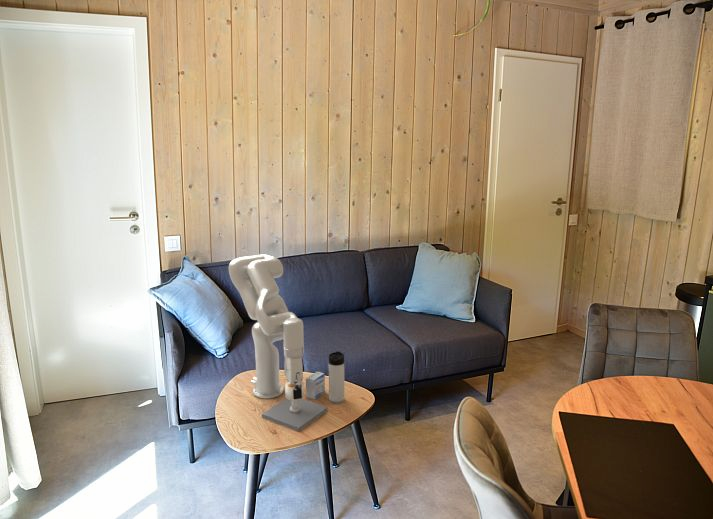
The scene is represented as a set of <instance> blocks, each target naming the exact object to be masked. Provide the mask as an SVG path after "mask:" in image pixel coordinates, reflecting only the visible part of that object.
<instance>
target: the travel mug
mask: <svg viewBox="0 0 713 519" xmlns="http://www.w3.org/2000/svg"><path fill="white" fill-rule="evenodd" d="M328 401H329V403H331V404H332V405H333V404H335V405H340V404H342V403H344V401H345V354H344V353H343V352H341V351H337V350H336V351H335V352H332V353H329V355H328Z"/></svg>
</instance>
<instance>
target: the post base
mask: <svg viewBox="0 0 713 519" xmlns="http://www.w3.org/2000/svg"><path fill="white" fill-rule="evenodd" d="M328 410H329V409H328V406H326V405H325V406H324V405H322V404H319V403H316V402H314V401H311V400H308V399H305V398H302V399H300V400H296V401H292V400H288V399H286V398H285V399H283V400H282V401H280V402H278V403H277V404H275V405H274V406H272V407H271V408H269V409H267V410H266V411H264V412H262V413H261V418H262V419H265V420H268V421H270V422H273V423H275V424H277V425H281V426H283V427H285V428H287V429H288V428H289V429H290V430H293V431H296V432H300V431H302V430H303V429H304V428H306V427H307V426H309V425H310V424H311V423H313V422H315V420H317V419H318V418H320V417H321V416H323V415H324V414H326V413H327V412H328Z"/></svg>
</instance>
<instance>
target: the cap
mask: <svg viewBox="0 0 713 519" xmlns="http://www.w3.org/2000/svg"><path fill="white" fill-rule="evenodd" d="M295 381H297V380H295ZM295 384H296V385H298V383H295ZM304 386H305V383H304V382H303V381H302V398H301V399H304V397H305V391H304V390H305V387H304ZM284 387H285V388H284V393H285V399H288V400H292V401H296V400H300V399H295V400H294V399H293V389H294V385H293V383H292V384H291V383H290V382H289V381H288V380H287V382H285V385H284Z"/></svg>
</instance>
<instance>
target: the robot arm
mask: <svg viewBox="0 0 713 519" xmlns="http://www.w3.org/2000/svg"><path fill="white" fill-rule="evenodd" d="M283 274H284V266H283V263H282V262H281V260H280V259H279V258H278V257H275V256H271V255H268V254H265V253H263V254H255V255H248V256H241V257H237V258H235V259H232V260H231V261H230V263H229V264H228V275H229V277H230V281H231V282H232V284H233V286H234V287H235V289H236V290H237V291H238V293H239V295H240V297H241V300H242V302H243V305H244V308H245V310H246V312H247V316H248V317H249V318H250V319H251V320H253V321H256V322H255V323H254V324H253V325H252V327H251V335H252V338H253V343H254V344H253V346H254V354H255V356H254V358H255V375H256V376H253V377H252V380H251V381H250V384H252V385H254V387H253V388H252V394H253V395H254V396H255V397H257V398H259V399H273V398H277V397H279V396H281V395H282V394H283V393H284V386H283V385H282V384H280V354H279V349H278V348H277V346H275V344H273V343H275V342H278V341H282V340H283V344H282V345H283V357H284V361H283V362H284V363H283V364H284V365H283V366H284V369H283V371H284V372H283V373H284V376H285V378H286V379H287V382H288V381H289V382H290V383H291V384H292V383H293V385H294V389H293V399H294V400H295V399H301V398H302V382H303V381H304V369H303V356H304V355H305V347H304V342H305V340H304V337H305V336H304V322H303V320H302V318H298V316H297V315H296V314H295V313H294V312H292V311H289V308H288V306H287V305H286V303H285V301H284V299H283V297H282V296H281V295H280V294H279V292H280V288H279V286H278V284H277V281H276V280H275V279H277V278H281V277H283ZM295 380H297V381H295ZM295 383H298V385H296V384H295ZM302 399H303V398H302Z"/></svg>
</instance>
